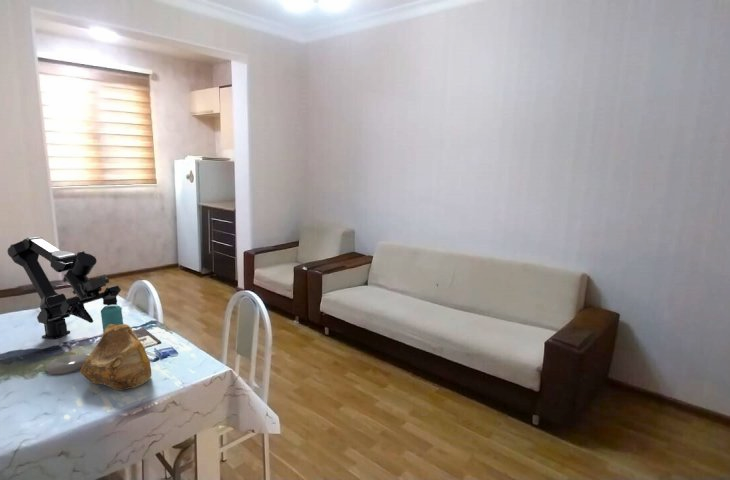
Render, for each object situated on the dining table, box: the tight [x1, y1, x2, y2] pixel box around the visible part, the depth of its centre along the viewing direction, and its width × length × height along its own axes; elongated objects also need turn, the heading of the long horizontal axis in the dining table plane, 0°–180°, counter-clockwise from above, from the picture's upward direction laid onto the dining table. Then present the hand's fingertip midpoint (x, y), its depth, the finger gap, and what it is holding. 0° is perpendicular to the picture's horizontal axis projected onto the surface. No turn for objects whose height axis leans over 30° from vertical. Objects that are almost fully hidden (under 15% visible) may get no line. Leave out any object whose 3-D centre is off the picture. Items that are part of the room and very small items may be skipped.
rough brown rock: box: [79, 323, 152, 392], centre depth 126 cm, size 23×17×15 cm
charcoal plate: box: [45, 353, 90, 376], centre depth 136 cm, size 12×12×1 cm
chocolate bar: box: [133, 327, 162, 348], centre depth 157 cm, size 9×1×18 cm
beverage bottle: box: [100, 296, 125, 334], centre depth 145 cm, size 6×7×20 cm
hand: (105, 317), depth 146 cm, fingers open, 9 cm apart
